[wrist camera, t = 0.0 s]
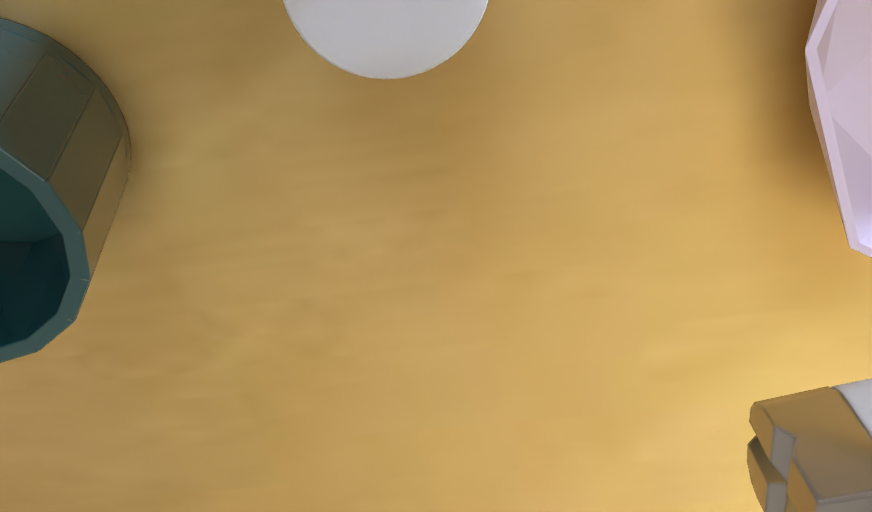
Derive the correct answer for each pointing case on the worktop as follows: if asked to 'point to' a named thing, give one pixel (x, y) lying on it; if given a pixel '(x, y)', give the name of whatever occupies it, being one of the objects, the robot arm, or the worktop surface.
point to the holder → (52, 184)
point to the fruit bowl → (844, 108)
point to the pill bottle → (385, 32)
